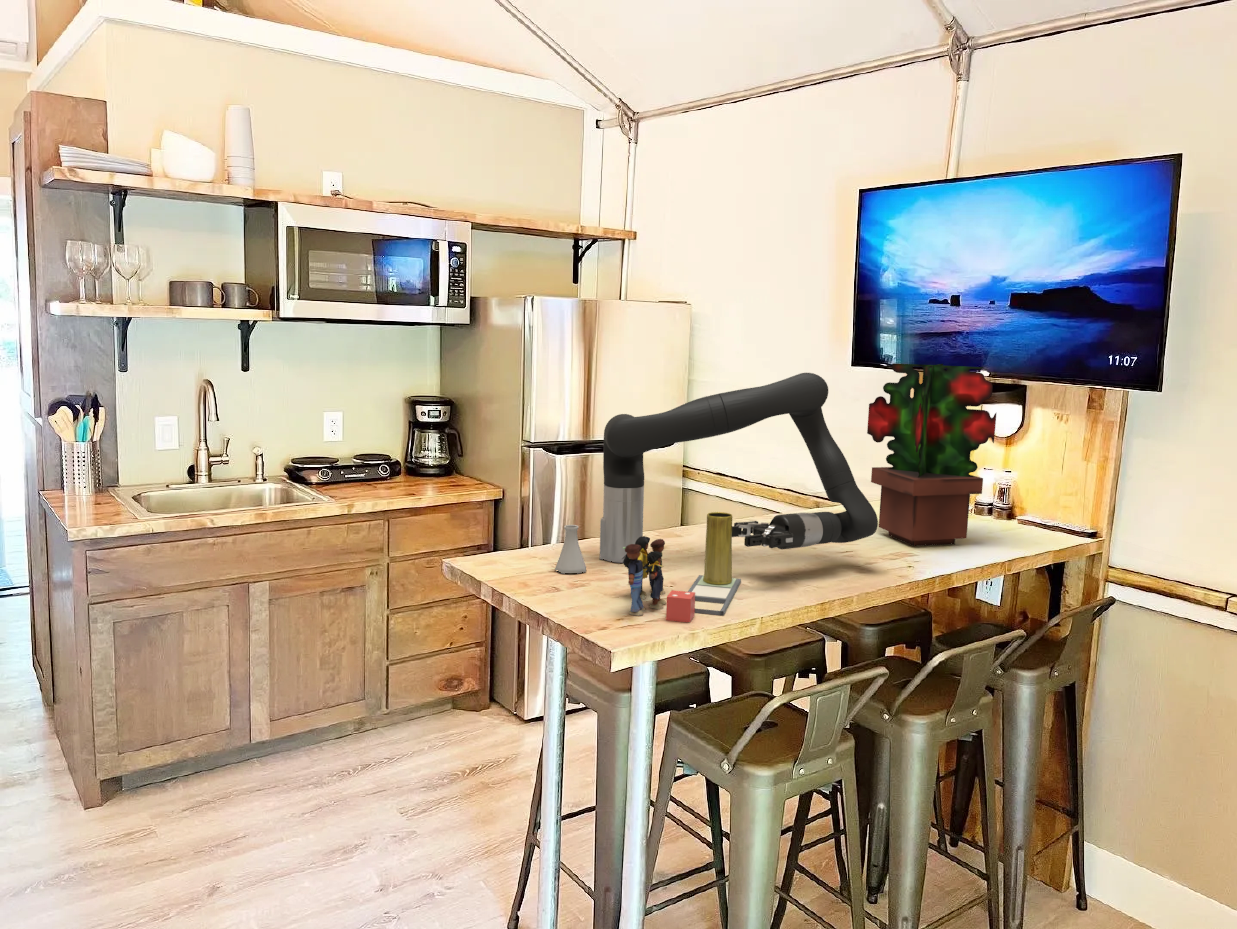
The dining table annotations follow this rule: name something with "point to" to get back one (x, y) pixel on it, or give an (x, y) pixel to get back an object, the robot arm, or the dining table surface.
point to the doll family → (645, 573)
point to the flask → (571, 553)
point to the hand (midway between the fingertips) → (733, 537)
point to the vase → (718, 549)
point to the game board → (714, 594)
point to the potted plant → (930, 451)
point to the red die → (680, 606)
